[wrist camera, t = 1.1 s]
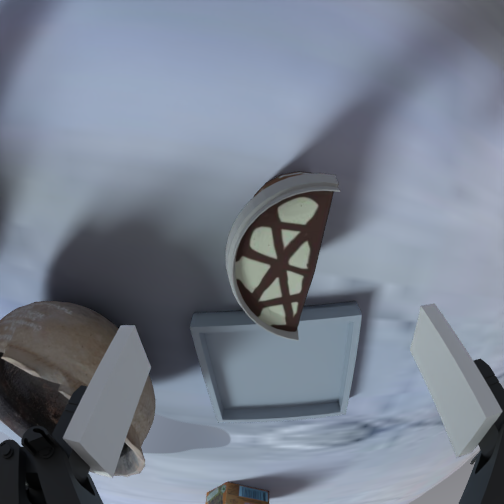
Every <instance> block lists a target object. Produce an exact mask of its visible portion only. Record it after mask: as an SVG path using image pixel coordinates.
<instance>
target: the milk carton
mask: <svg viewBox="0 0 504 504" xmlns="http://www.w3.org/2000/svg"><path fill="white" fill-rule="evenodd" d="M206 504H269V491H268V490H262V489H257V488H252V487H248V486H243V485H239V484H235V483H230V482H226V483H224V484H222V485H221V486H219V487H217V488H215V489H213V490H211V491H209V492H208V493H207V496H206Z"/></svg>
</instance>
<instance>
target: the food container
mask: <svg viewBox="0 0 504 504" xmlns="http://www.w3.org/2000/svg"><path fill="white" fill-rule="evenodd" d="M338 185H339V183H338V181H337V179H336V177H335V175H332V174H323V173H313V174H312V173H308V172H293V173H288V174H282V175H280V176H278V177H276V178H274V179H272V180H270V181H268V182H267V183H265V184H264V186H263V187H262V188H261V189H260V190H259V191H258V192H257V193H256V194H255V195H254V197H253V198H252V199H251V200H250V201H249V202H248V203H247V205H246V206H245V207H244V208H243V209H242V210H241V212H240V213H239V215H238V217H237V218H236V220H235V221H234V223H233V226H232V228H231V231H230V233H229V236H228V240H227V245H226V258H225V261H226V268H227V274H228V278H229V282H230V285H231V288H232V292H233V294H234V296H235V298H236V300H237V302H238V303H239V305H240V306H241V307H242V309H243V310H244V311H245V313H246V314H247V315H248V316H249V317H250V318H251V319H252V320H253V321H254V322H255V323H256V324H257V325H259V326H260V327H262V328H263V329H265V330H266V331H268V332H270V333H272V334H274V335H277V336H279V337H283V338H286V339H290V340H296V341H299V337H298V325H299V322H300V317H301V313H302V310H303V307H304V303H305V300H306V297H307V294H308V290H309V287H310V285H311V281H312V278H313V275H314V272H315V268H316V264H317V260H318V255H319V251H320V247H321V243H322V238H323V234H324V230H325V226H326V222H327V218H328V214H329V209H330V205H331V201H332V196H333V192H334V191H335V192H340V190H339V188H338Z"/></svg>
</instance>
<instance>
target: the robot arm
mask: <svg viewBox="0 0 504 504" xmlns="http://www.w3.org/2000/svg"><path fill="white" fill-rule="evenodd" d="M410 351H411V353H412V355H413V357H414V360H415V362H416V364H417V366H418V368H419V370H420V372H421V374H422V376H423V379H424V381H425V383H426V385H427V387H428V390H429V392H430V394H431V396H432V399H433V401H434V403H435V405H436V408H437V410H438V412H439V415H440V417H441V420H442V422H443V424H444V427H445V429H446V432H447V434H448V437H449V439H450V442H451V445H452V447H453V450H454V452H455V455H456V458H458V457H461V456H464V455H466V454H469V453H471V452H473V450H474V449H475V448H476V447H477V445H479V447H480V449H481V450H480V452H479V453H478V454H477V455H476V456H475V457H474V459H473V460H472V461H471V463H470V464H473V463H474V462H475V461H476V462H475V465H474V468H473V470H472V473H471V475H470V478H469V480H468V483H467V485H466V488H465V490H464V493H463V495H462V497H461V499H460V502H459V504H504V389H503V387H502V386H501V384H500V383H499V381H498V379H497V377H496V376H495V374H494V373H493V371H492V369H491V368H490V366H489V365H488V364H486V363H485V362H484V361H483V360H481V359H478V360H474V361H473V360H472V358H471V357H470V355H469V353H468V352H467V350H466V349H465V347H464V346H463V344H462V343H461V341H460V340H459V338H458V337H457V335H456V334H455V332H454V331H453V329H452V328H451V326H450V325H449V323H448V322H447V320H446V319H445V318H444V316H443V315H442V313H441V312H440V310H439V309H438V308H437V306H436V305H435V304H429V305H423V306H421V308H420V312H419V317H418V321H417V325H416V329H415V333H414V337H413V341H412V344H411V348H410ZM150 369H151V365H150V363H149V360H148V358H147V356H146V353H145V350H144V348H143V345H142V343H141V340H140V337H139V335H138V332H137V329H136V327H135V325H121V326H120V328H119V329H118V331H117V333H116V335H115V337H114V338H113V340H112V342H111V344H110V346H109V347H108V349H107V351H106V353H105V355H104V357H103V358H102V360H101V362H100V364H99V366H98V368H97V370H96V372H95V373H94V375H93V377H92V379H91V381H90V383H89V385H88V386H83V385H81V386H80V387H79V388H78V389H77V390H76V391H75V392H73V394H72V396H71V398H70V400H69V401H68V404H67V405H66V407H65V409H64V410H65V411H63V413H62V415H61V417H60V419H59V421H58V423H57V425H56V427H55V429H54V431H53V433H52V435H51V434H50V433H49V432H48V431H47V429H45V428H44V427H42V426H33V427H31V428H29V429H28V430H27V431H26V432H25V433H24V434H23V437H22V443H21V444H22V445H23V446H24V447H20V446H19V444H18V443H17V442H15V441H14V440H5V441H3V442H2V443H1V444H0V504H103V502H102V500H101V498H100V496H99V494H98V492H97V490H96V487H95V485H94V483H93V481H92V478H91V477H90V475H89V474H88V473H89V470H90V468H91V469H92V470H93V471H94V472H95V473H96V474H98V475H102V476H106V477H110V478H113V476H114V473H115V470H116V467H117V463H118V460H119V457H120V454H121V451H122V448H123V445H124V442H125V439H126V436H127V433H128V430H129V427H130V425H131V422H132V419H133V416H134V413H135V410H136V407H137V405H138V402H139V399H140V396H141V394H142V391H143V388H144V385H145V383H146V380H147V377H148V374H149V372H150Z"/></svg>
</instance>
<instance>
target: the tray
mask: <svg viewBox="0 0 504 504" xmlns="http://www.w3.org/2000/svg"><path fill="white" fill-rule="evenodd" d="M361 319H362V314H361V311H360V309H359V307H358V304H357V302H356V301H353V302H344V303H333V304H323V305H312V306H304V307H303V310H302V313H301V317H300V322H299V325H298V337H299V341H296V340H290V339H286V338H283V337H279V336H277V335H274V334H272V333H270V332H268V331H266V330H265V329H263V328H262V327H260V326H259V325H257V324H256V323H255V322H254V321H253V320H252V319H251V318H250V317H249V316H248V315H247V314H246V313H245V311H244V310H243V311H225V312H203V313H194V314H193V317H192V321H191V324H190V330H191V334H192V338H193V342H194V345H195V349H196V353H197V356H198V360H199V363H200V367H201V370H202V374H203V377H204V380H205V384H206V387H207V390H208V394H209V397H210V400H211V403H212V406H213V410H214V413H215V416H216V419H217V422H218V423H252V422H275V421H290V420H302V419H313V418H322V417H330V416H338V415H345V414H346V410H347V405H348V400H349V395H350V390H351V385H352V379H353V373H354V367H355V361H356V355H357V348H358V341H359V334H360V327H361Z"/></svg>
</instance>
